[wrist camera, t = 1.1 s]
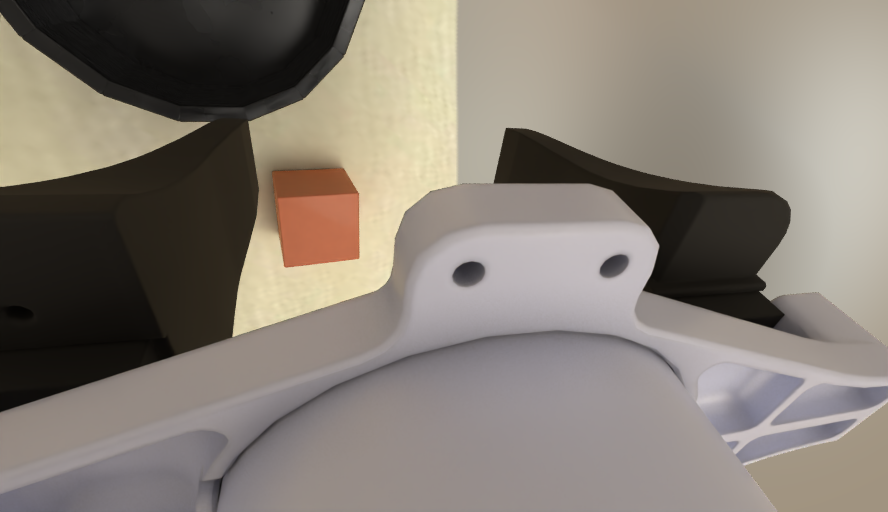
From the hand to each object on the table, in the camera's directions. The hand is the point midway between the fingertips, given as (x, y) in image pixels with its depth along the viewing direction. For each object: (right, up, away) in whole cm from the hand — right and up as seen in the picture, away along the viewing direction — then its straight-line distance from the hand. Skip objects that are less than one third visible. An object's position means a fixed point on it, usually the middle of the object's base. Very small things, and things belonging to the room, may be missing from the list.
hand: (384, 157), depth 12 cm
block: (-6, 0, +13) cm, 15 cm away
